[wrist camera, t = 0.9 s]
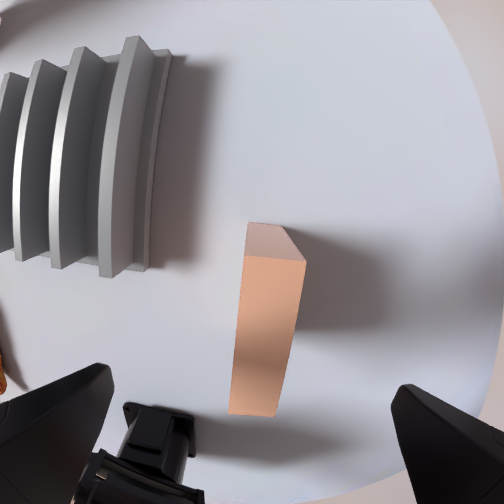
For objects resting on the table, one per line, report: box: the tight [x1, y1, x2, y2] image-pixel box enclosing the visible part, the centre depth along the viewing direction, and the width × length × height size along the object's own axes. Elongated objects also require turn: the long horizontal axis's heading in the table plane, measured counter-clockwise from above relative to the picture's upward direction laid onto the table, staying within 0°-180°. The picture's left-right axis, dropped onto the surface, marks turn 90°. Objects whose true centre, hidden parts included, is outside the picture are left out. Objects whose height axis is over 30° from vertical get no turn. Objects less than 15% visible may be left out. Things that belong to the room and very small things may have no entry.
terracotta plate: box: [228, 222, 307, 417], centre depth 14 cm, size 7×2×8 cm, turn 174°
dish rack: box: [0, 36, 172, 278], centre depth 13 cm, size 14×13×4 cm
